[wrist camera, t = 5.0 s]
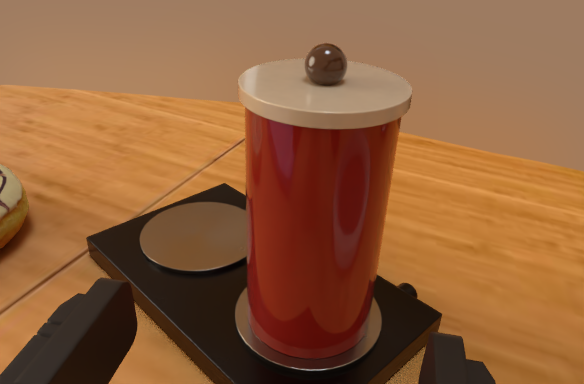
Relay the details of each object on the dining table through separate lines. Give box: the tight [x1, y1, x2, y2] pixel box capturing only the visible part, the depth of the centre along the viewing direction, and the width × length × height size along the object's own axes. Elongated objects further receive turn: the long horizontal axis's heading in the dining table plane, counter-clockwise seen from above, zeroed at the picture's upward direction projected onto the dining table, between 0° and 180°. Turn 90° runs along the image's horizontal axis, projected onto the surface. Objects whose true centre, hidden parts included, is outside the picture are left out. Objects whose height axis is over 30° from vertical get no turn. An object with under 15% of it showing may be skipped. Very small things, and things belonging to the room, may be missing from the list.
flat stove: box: [86, 183, 442, 384], centre depth 28 cm, size 11×18×2 cm, turn 44°
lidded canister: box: [238, 43, 412, 359], centre depth 24 cm, size 12×6×13 cm, turn 169°
